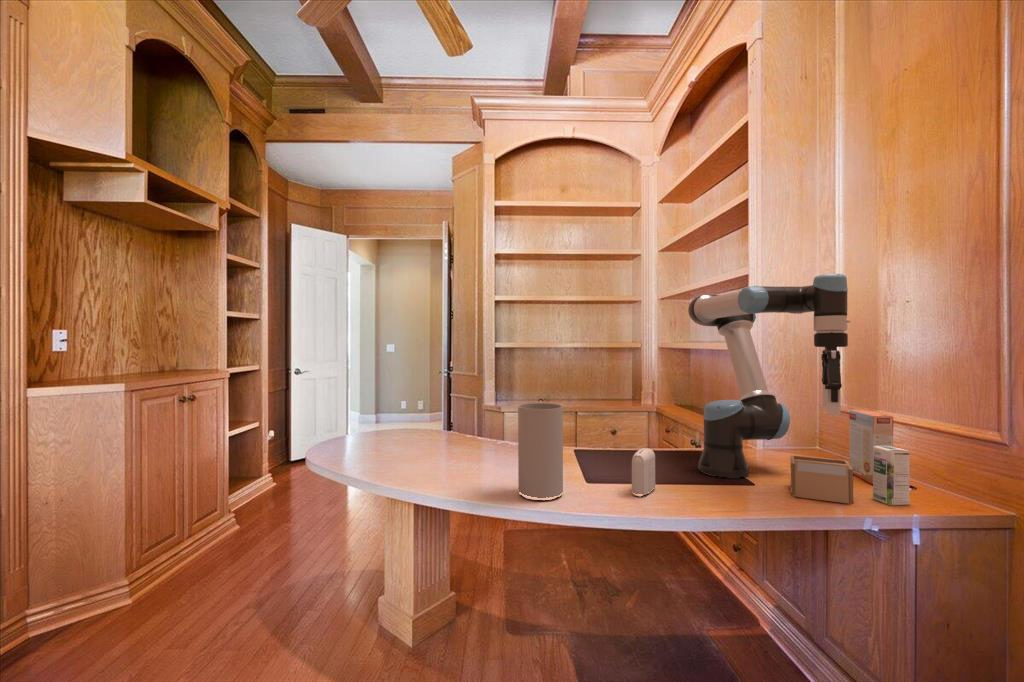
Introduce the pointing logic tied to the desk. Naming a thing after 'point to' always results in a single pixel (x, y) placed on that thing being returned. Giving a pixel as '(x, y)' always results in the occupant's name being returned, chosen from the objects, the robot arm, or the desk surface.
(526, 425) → the cylinder vase
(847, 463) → the carton
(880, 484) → the syrup box
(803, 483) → the flap
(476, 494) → the desk surface
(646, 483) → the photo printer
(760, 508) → the desk surface
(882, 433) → the cracker box
